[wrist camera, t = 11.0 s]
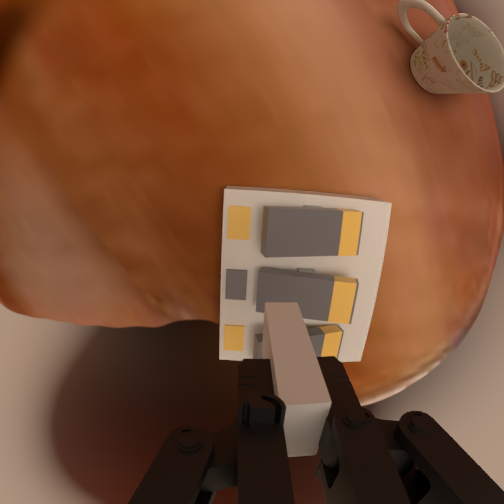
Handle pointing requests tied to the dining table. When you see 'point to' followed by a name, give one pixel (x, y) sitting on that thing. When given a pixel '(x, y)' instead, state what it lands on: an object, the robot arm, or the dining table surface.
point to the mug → (455, 53)
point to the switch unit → (293, 264)
